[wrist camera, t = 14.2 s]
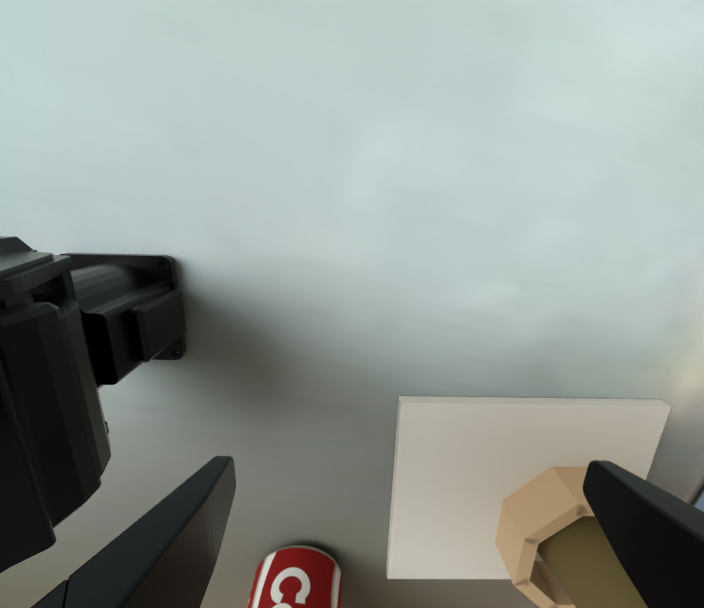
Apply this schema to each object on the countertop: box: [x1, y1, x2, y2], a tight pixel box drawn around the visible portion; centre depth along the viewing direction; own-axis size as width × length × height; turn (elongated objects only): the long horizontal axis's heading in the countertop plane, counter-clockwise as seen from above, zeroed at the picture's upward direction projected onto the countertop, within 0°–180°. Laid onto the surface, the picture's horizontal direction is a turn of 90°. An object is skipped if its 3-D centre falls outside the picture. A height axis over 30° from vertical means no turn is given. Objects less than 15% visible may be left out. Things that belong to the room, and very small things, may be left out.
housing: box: [386, 396, 671, 608], centre depth 23 cm, size 18×16×4 cm
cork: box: [537, 516, 648, 608], centre depth 20 cm, size 6×6×11 cm
